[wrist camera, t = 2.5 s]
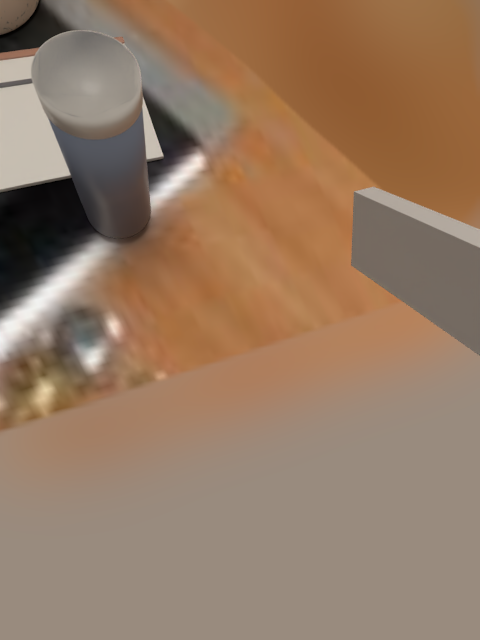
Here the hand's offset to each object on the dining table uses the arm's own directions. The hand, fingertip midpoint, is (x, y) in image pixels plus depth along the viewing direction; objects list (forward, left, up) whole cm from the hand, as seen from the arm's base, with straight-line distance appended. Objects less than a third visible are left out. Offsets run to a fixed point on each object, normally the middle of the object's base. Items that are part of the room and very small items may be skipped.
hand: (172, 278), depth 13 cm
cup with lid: (0, +9, -14) cm, 17 cm away
